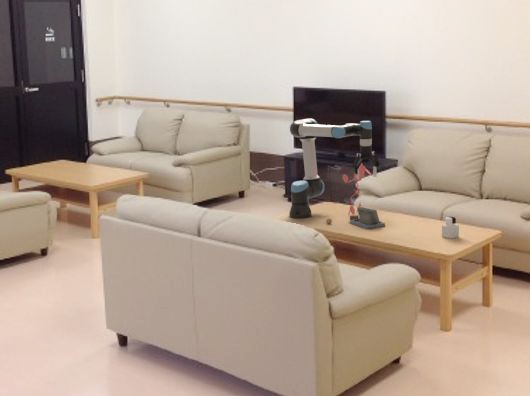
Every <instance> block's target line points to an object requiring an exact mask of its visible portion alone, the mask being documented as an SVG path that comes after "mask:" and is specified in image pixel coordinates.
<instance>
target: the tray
mask: <svg viewBox="0 0 530 396" xmlns="http://www.w3.org/2000/svg"><path fill="white" fill-rule="evenodd" d="M349 223H350V224H352V225H354V226H357V227H360V228H363V229H365V230H370V229H371V230H372V229H376V228H377V227H378V228H382V227H386V223H385V222H383V221H380V224H374V225H369V226H368V225H364V224H362V223H359V219H354V220H350V219H349ZM378 228H377V229H378Z"/></svg>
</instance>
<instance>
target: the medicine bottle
mask: <svg viewBox="0 0 530 396" xmlns="http://www.w3.org/2000/svg"><path fill="white" fill-rule="evenodd" d="M456 219H457V218H456V217H455V216H446V217H445V220H444V221H445V224H441V225H442V226H441V237H442V238H445V237H446V238H445V239H450V240H451V239H456V238H458V237H460V233H459V231H460V225H459V224H457V222H456V221H457V220H456Z"/></svg>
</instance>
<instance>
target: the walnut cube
mask: <svg viewBox="0 0 530 396" xmlns="http://www.w3.org/2000/svg"><path fill="white" fill-rule="evenodd" d="M354 219H359V214H350V215H349V221H350V220H354Z"/></svg>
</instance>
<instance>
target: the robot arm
mask: <svg viewBox="0 0 530 396" xmlns="http://www.w3.org/2000/svg"><path fill="white" fill-rule="evenodd" d="M372 126H373V125H372V121H371V120H361V121H360V122H359V123H354V122H353V123H352V122H351V123H350V122H347V123H345V124H343V125H335V124H333V125H331V124H327V125H326V124H319V123H318V122H317V121H316V120H315V119H314V118H308V117H307V118H303V119H297V120H294V121H293V122H292V123H291V124H290V125H289V132H290V134H291V135H292V136H293V137H295V138H298V139H299V140H300V142H301V144H302V145H301V146H302V156H303V165H304V177H303V178H302V179H303V180H296V181H293V182H292V183H291V185H290V186H291V188H290V197H291V198H290V199H291V206H290V210H289V212H288V213H289V217H290V218H293V219H294V218H295V219H305V218H310V217H312V209H311V207H310V204H309V203H310V202H309V201H310V200H309V199H312V198H317V197H319V196H321V195H323V193H324V191H325V183H324V182H323V180H322V179H321V177H320V176H319V175H318V165H317V154H316V145H315V140H316V139H317V137H323V138H325V137H327V138H329V137H330V138H335V139H342V138H347V137H351V136H359V151H360V153H356V154H355V159H354V161H353V164H352V166H351V168H352V169H354V172H355V174H356V178H355V180H357V179H359V169H358V168H359V166H360V165H361V163H362V164H363V162H364V161H366V160H369V161H370V162H371V164H372V165H373V166H372V175H373V177H375V178H377V177H378V176H377V172H378V167H379V166H380V165H381V163H380V160H379V159H378V156H377V152H376V151H373V146H372V144H373V143H372V142H373V141H372V140H373V137H372V135H373V133H372V131H373V127H372Z"/></svg>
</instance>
